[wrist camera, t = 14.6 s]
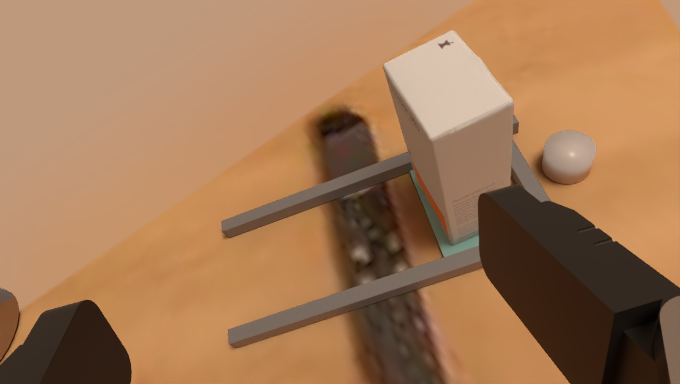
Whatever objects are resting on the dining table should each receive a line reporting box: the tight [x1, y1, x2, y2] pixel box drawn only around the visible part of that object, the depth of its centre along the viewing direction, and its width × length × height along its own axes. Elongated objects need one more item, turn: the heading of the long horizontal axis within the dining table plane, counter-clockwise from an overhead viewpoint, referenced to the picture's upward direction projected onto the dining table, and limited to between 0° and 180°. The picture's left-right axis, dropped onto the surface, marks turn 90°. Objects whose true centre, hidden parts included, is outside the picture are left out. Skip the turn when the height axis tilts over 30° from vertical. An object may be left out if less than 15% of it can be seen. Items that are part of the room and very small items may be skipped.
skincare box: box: [383, 30, 514, 245], centre depth 25 cm, size 6×4×12 cm
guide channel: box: [221, 114, 596, 348], centre depth 30 cm, size 27×10×2 cm, turn 103°
